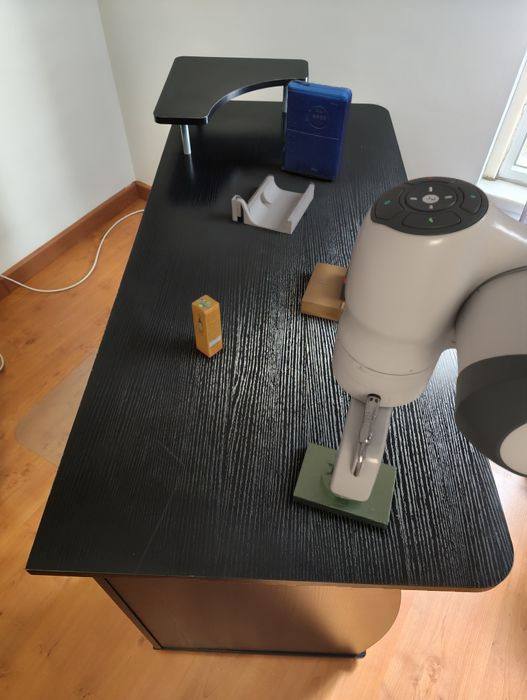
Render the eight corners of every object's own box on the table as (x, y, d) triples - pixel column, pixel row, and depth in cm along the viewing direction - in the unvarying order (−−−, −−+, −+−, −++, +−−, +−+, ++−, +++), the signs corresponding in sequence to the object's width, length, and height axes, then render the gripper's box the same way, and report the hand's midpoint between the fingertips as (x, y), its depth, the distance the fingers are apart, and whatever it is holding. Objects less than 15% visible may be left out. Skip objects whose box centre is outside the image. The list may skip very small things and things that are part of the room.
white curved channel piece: (291, 234, 99) (292, 213, 95) (232, 220, 102) (231, 199, 98) (313, 197, 108) (315, 176, 104) (259, 186, 111) (259, 165, 107)
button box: (394, 472, 64) (400, 460, 62) (385, 529, 59) (391, 518, 57) (308, 448, 67) (309, 435, 64) (292, 500, 62) (293, 489, 59)
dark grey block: (347, 275, 86) (350, 259, 83) (356, 277, 86) (359, 261, 83) (339, 299, 82) (342, 282, 79) (348, 301, 82) (352, 284, 79)
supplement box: (224, 347, 79) (220, 303, 71) (209, 358, 77) (203, 315, 70) (211, 336, 80) (205, 292, 73) (195, 348, 79) (188, 304, 71)
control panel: (389, 289, 88) (392, 276, 86) (379, 330, 81) (383, 317, 79) (315, 274, 91) (317, 260, 88) (300, 312, 84) (301, 299, 82)
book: (279, 173, 115) (281, 84, 100) (286, 163, 118) (290, 75, 103) (336, 185, 111) (348, 94, 96) (342, 174, 115) (355, 85, 99)
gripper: (404, 468, 36) (371, 534, 46) (429, 291, 48) (399, 375, 59) (321, 444, 37) (308, 514, 47) (367, 278, 49) (348, 362, 60)
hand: (358, 436), depth 53 cm, fingers closed
